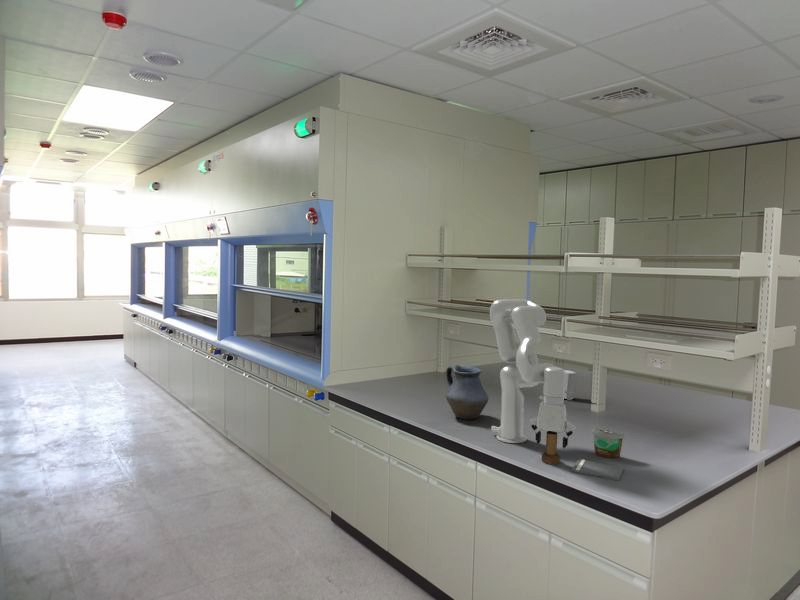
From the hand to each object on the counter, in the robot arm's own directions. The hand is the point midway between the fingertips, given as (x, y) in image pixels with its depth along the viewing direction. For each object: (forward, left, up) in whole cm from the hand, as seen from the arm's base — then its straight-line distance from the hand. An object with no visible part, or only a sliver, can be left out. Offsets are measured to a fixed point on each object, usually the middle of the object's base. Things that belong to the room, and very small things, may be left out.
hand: (551, 444), depth 204 cm
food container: (+17, +18, -7) cm, 26 cm away
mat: (+17, 0, -6) cm, 18 cm away
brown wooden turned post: (0, 0, -6) cm, 6 cm away
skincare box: (-17, +107, -7) cm, 109 cm away
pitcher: (-51, +39, -6) cm, 65 cm away
